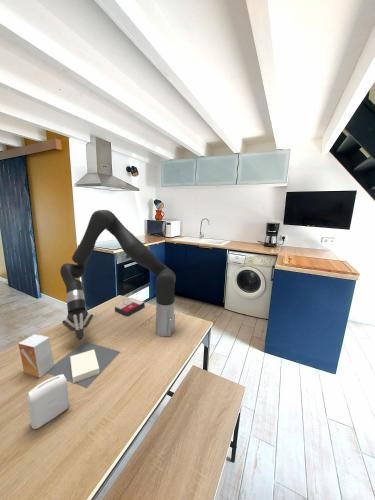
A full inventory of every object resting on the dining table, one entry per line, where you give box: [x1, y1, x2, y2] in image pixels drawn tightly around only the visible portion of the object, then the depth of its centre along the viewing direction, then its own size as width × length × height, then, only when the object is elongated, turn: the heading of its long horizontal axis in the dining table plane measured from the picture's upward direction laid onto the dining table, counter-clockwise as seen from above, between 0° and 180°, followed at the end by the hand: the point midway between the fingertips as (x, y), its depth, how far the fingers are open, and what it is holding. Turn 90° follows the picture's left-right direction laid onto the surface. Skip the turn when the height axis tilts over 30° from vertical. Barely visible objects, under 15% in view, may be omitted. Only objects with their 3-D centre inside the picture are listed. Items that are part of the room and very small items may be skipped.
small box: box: [17, 333, 55, 379], centre depth 79 cm, size 8×6×13 cm
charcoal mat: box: [45, 340, 121, 389], centre depth 86 cm, size 20×20×1 cm
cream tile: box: [70, 350, 99, 384], centre depth 83 cm, size 2×9×12 cm
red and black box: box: [114, 297, 146, 318], centre depth 131 cm, size 11×4×15 cm
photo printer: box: [26, 374, 70, 430], centre depth 63 cm, size 10×4×12 cm, turn 140°
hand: (80, 339), depth 91 cm, fingers closed
